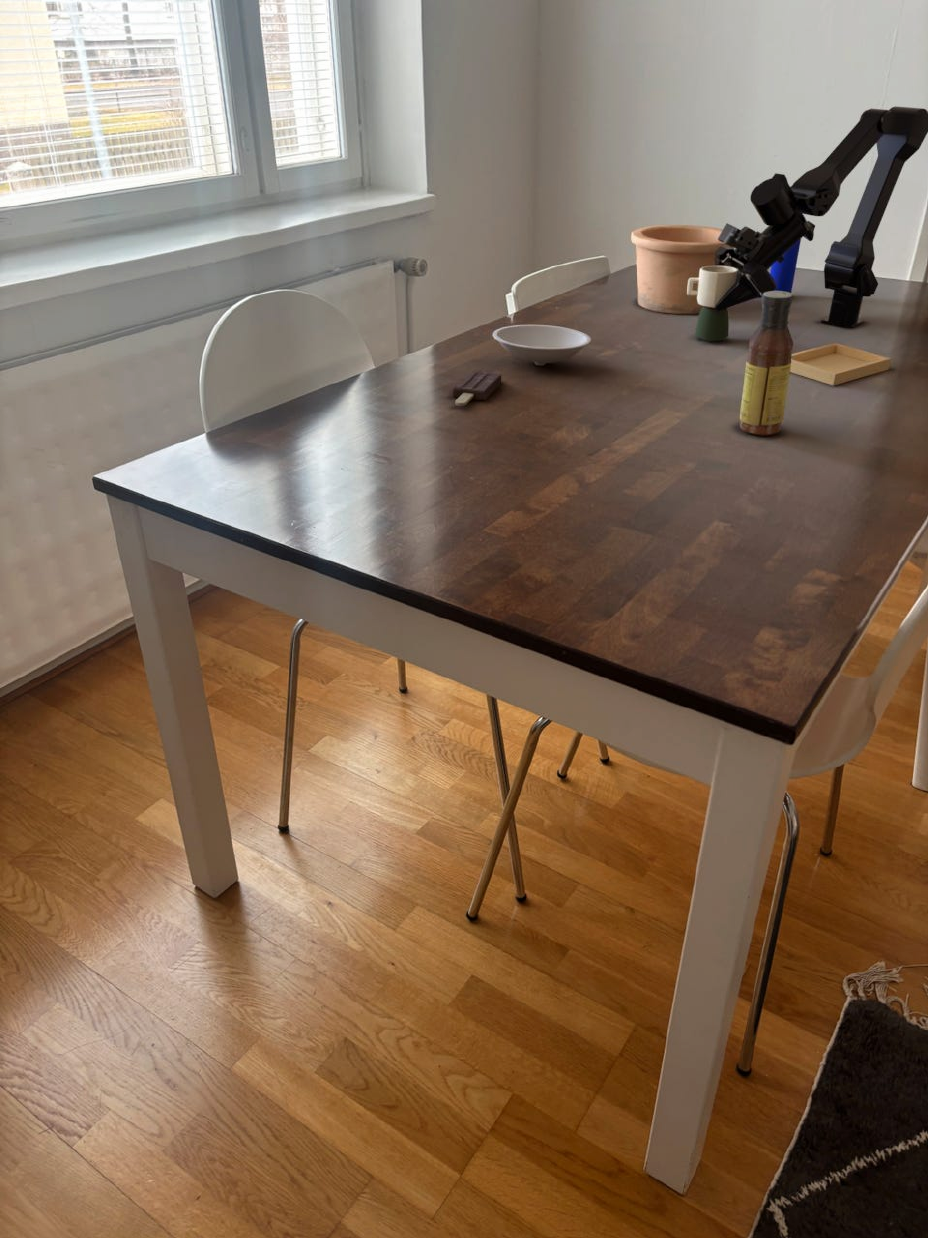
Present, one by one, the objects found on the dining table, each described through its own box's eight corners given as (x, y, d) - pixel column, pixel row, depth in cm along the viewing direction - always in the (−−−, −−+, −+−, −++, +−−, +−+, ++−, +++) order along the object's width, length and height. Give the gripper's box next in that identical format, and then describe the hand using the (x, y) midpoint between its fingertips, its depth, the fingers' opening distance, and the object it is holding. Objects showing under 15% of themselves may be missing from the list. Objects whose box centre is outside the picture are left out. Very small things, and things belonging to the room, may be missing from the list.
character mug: (741, 336, 185) (750, 266, 178) (738, 346, 179) (748, 274, 172) (684, 333, 187) (691, 263, 181) (680, 342, 182) (687, 271, 175)
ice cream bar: (474, 411, 149) (502, 382, 161) (474, 400, 148) (502, 372, 160) (443, 407, 151) (473, 378, 163) (443, 397, 150) (473, 369, 162)
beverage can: (787, 294, 214) (800, 223, 206) (792, 300, 210) (805, 227, 202) (764, 293, 214) (776, 222, 206) (768, 299, 210) (780, 226, 202)
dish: (478, 368, 167) (478, 340, 165) (510, 347, 178) (510, 320, 176) (573, 382, 161) (575, 353, 158) (600, 359, 172) (602, 331, 170)
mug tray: (777, 368, 168) (779, 356, 167) (833, 353, 176) (835, 342, 175) (833, 385, 160) (835, 374, 159) (888, 369, 168) (891, 358, 167)
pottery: (652, 287, 219) (659, 220, 211) (744, 302, 208) (755, 232, 200) (607, 306, 204) (613, 235, 196) (703, 323, 193) (713, 248, 185)
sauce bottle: (781, 425, 145) (807, 290, 134) (779, 439, 140) (805, 300, 129) (737, 420, 146) (759, 286, 136) (733, 434, 141) (755, 296, 131)
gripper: (731, 199, 179) (667, 262, 183) (771, 216, 163) (700, 284, 168) (764, 243, 184) (701, 303, 188) (806, 263, 168) (735, 328, 173)
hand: (708, 303), depth 179 cm, fingers closed on character mug, 8 cm apart
